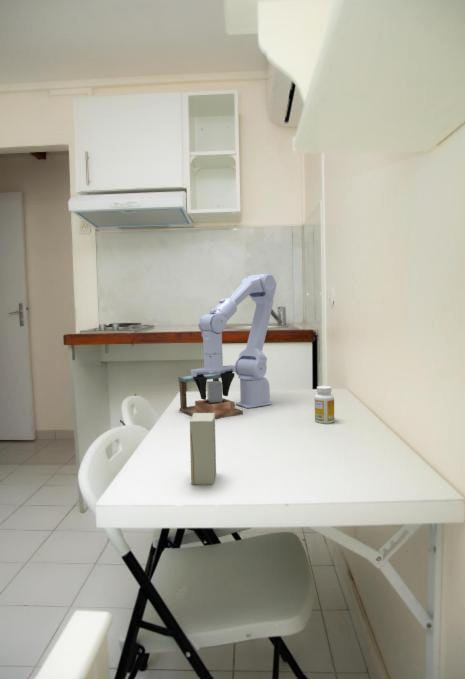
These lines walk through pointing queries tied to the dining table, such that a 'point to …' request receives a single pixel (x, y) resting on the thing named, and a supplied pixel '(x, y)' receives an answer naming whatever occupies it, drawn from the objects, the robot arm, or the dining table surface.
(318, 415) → the supplement bottle
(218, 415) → the socket station
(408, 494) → the dining table surface
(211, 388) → the steel peg
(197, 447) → the skincare box
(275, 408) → the dining table surface
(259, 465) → the dining table surface
